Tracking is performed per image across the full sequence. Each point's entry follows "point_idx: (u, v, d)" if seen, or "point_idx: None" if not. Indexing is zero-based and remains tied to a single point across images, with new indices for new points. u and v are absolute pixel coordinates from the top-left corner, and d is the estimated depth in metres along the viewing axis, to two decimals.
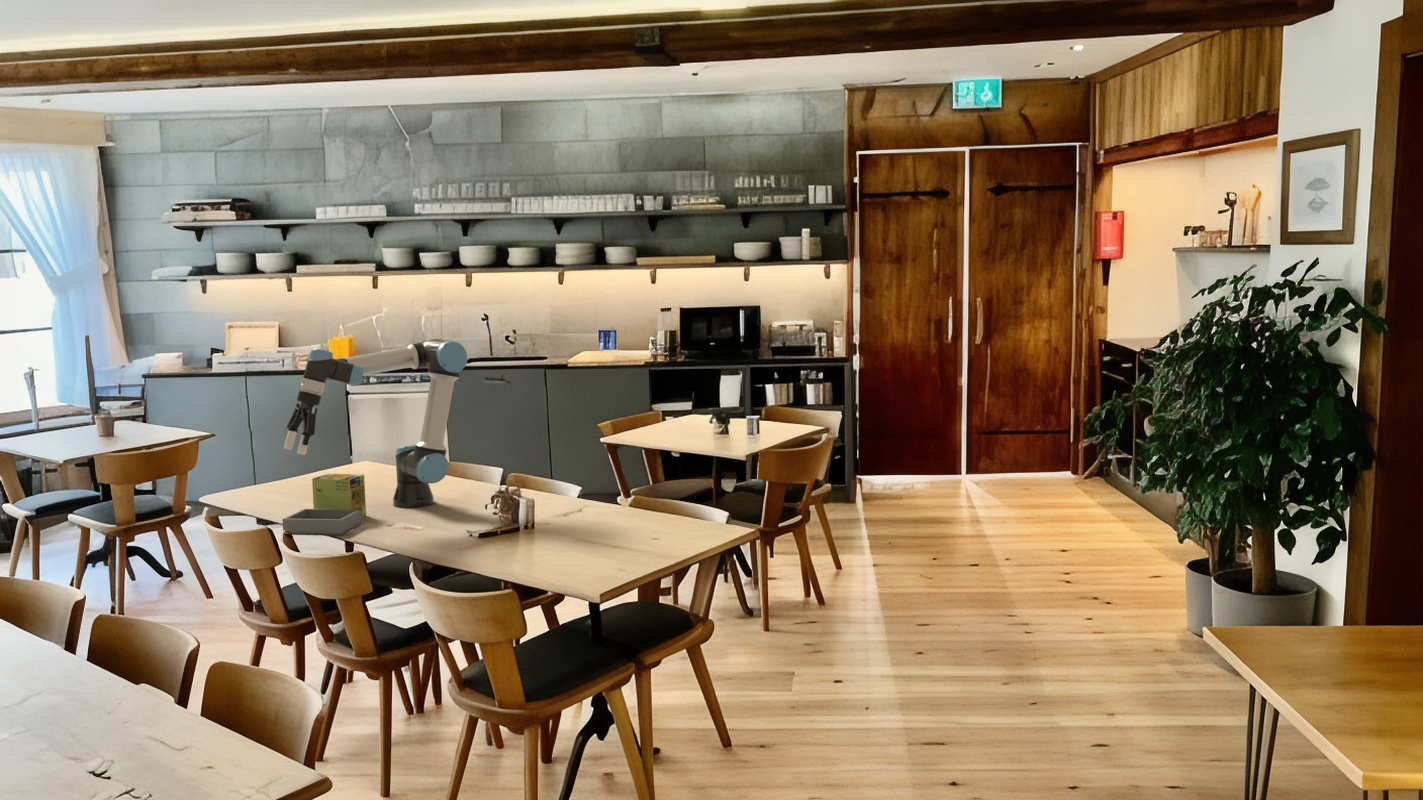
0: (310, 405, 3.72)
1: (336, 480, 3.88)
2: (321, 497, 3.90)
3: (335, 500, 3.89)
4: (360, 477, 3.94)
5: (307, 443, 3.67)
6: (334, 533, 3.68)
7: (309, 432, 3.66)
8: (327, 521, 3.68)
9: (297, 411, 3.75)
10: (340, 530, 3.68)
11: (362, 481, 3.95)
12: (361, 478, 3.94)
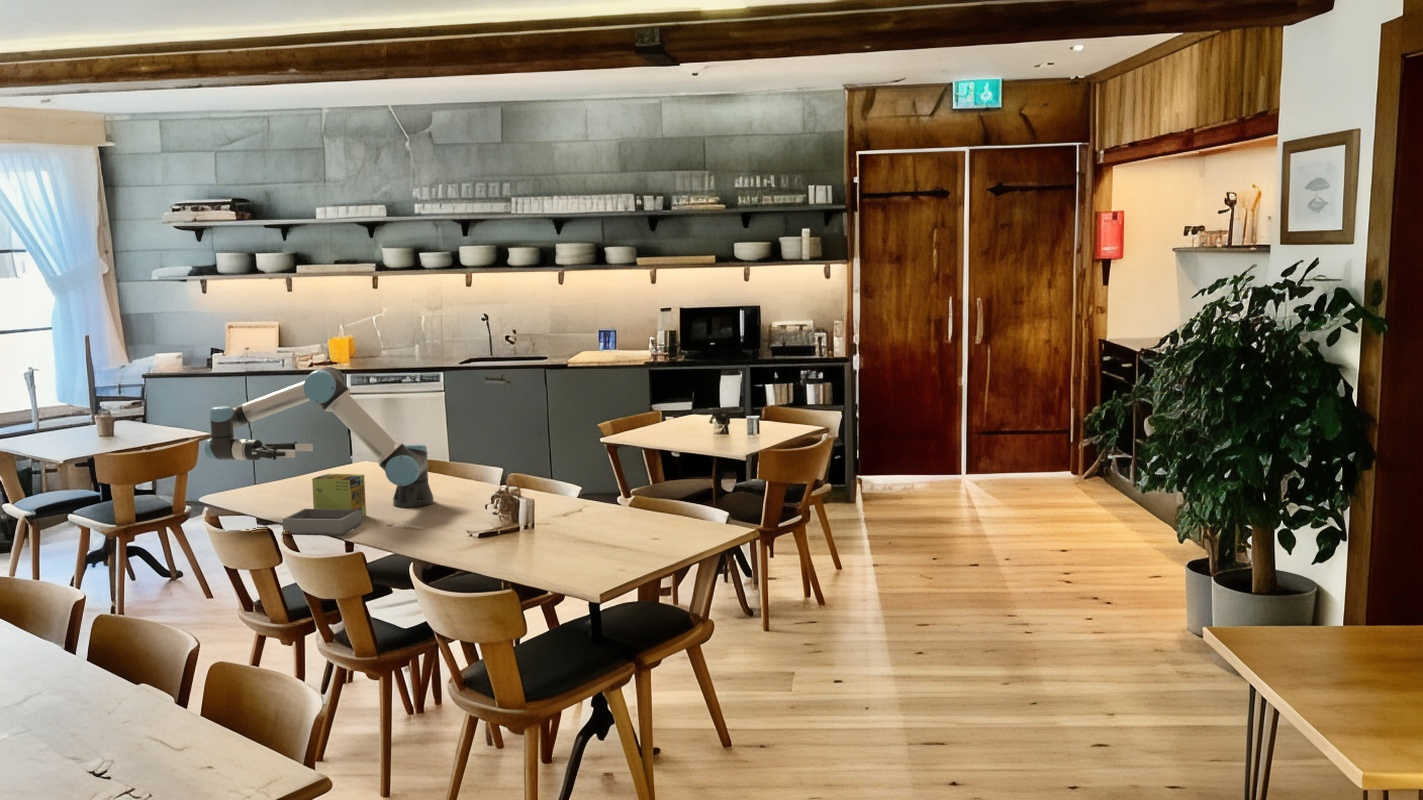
0: None
1: (336, 480, 3.88)
2: (321, 497, 3.90)
3: (335, 500, 3.89)
4: (360, 477, 3.94)
5: (281, 452, 3.85)
6: (334, 533, 3.68)
7: (269, 456, 3.84)
8: (327, 521, 3.68)
9: None
10: (340, 530, 3.68)
11: (362, 481, 3.95)
12: (361, 478, 3.94)
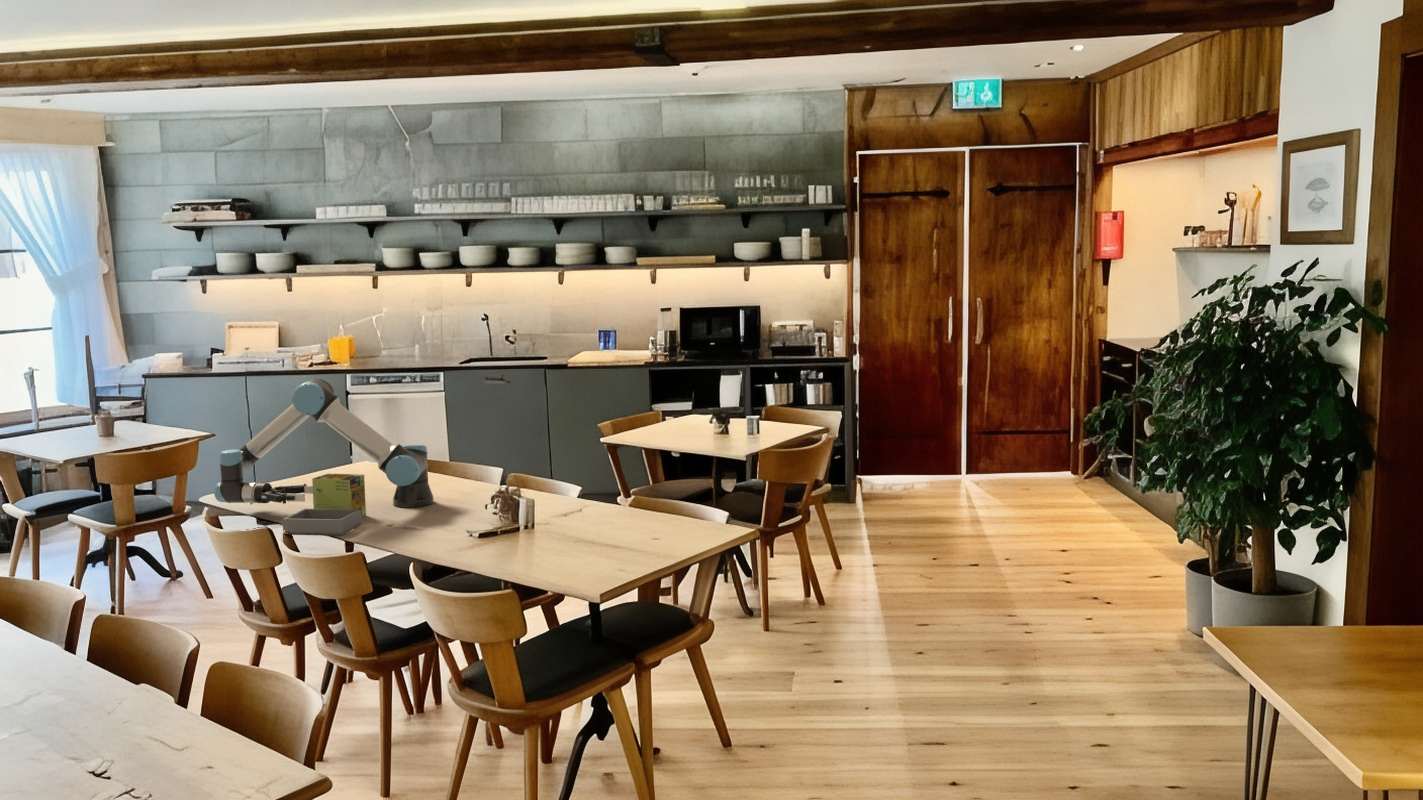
0: None
1: (336, 480, 3.88)
2: (321, 497, 3.90)
3: (335, 500, 3.89)
4: (360, 477, 3.94)
5: (291, 497, 3.87)
6: (334, 533, 3.68)
7: (278, 500, 3.86)
8: (327, 521, 3.68)
9: None
10: (340, 530, 3.68)
11: (362, 481, 3.95)
12: (361, 478, 3.94)
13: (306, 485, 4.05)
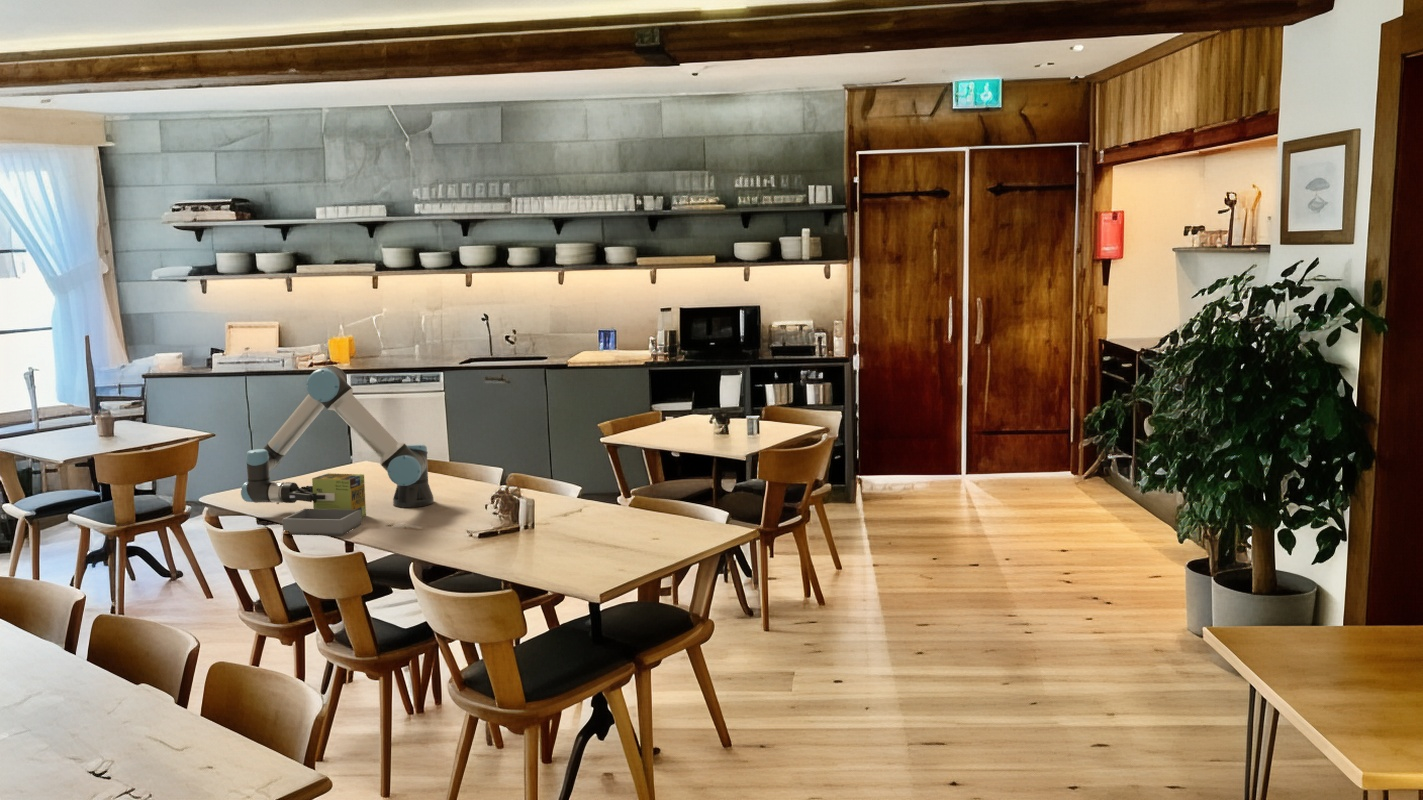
0: None
1: (336, 480, 3.87)
2: None
3: (335, 500, 3.88)
4: (360, 477, 3.93)
5: (321, 496, 3.87)
6: (334, 533, 3.68)
7: (309, 499, 3.86)
8: (327, 521, 3.68)
9: None
10: (340, 530, 3.68)
11: (362, 481, 3.95)
12: (360, 477, 3.94)
13: None
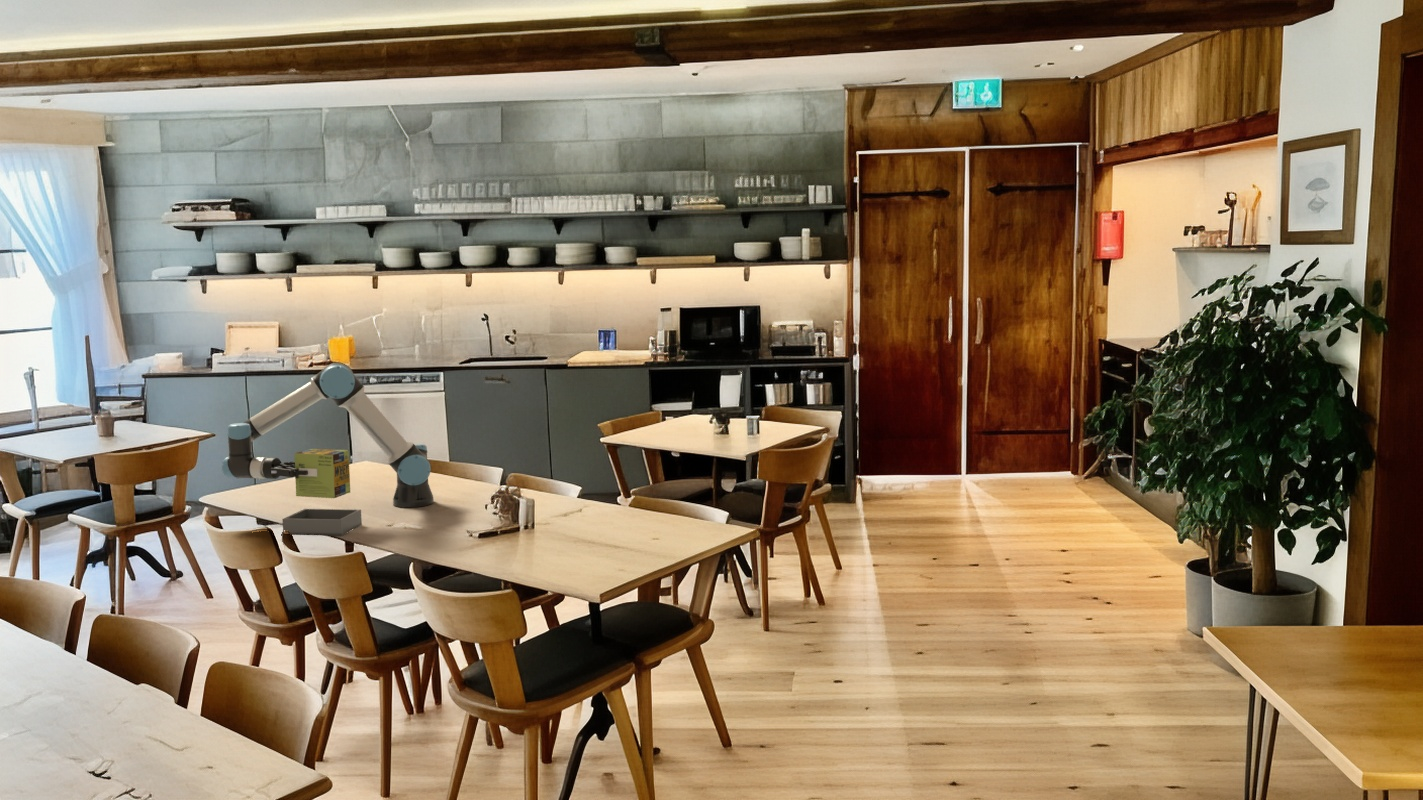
0: None
1: (319, 455, 3.74)
2: None
3: (318, 475, 3.75)
4: (344, 452, 3.80)
5: (304, 471, 3.73)
6: (334, 533, 3.68)
7: (291, 475, 3.72)
8: (327, 521, 3.68)
9: None
10: (340, 530, 3.68)
11: (346, 456, 3.81)
12: (345, 453, 3.80)
13: None
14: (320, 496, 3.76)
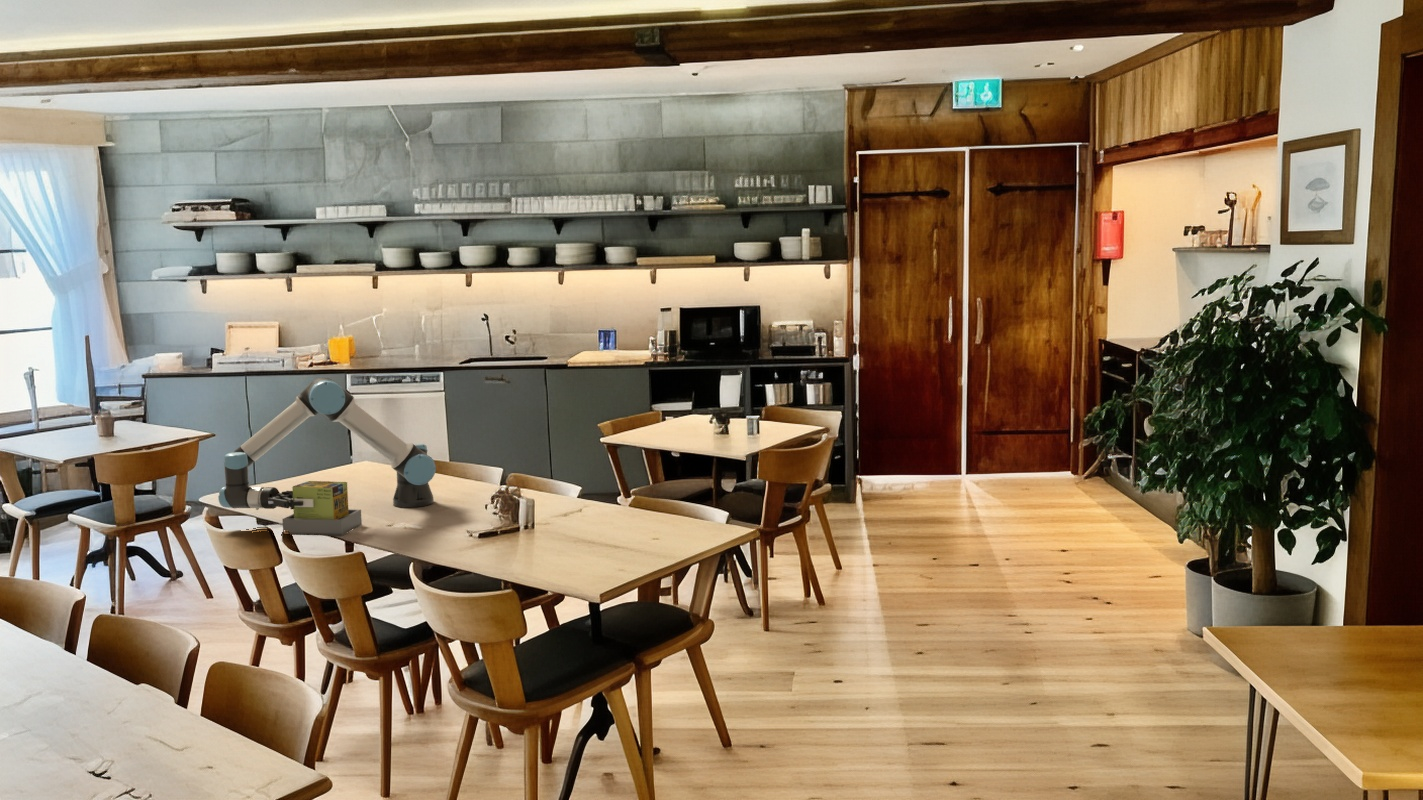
0: None
1: (318, 488, 3.69)
2: None
3: (316, 509, 3.70)
4: (343, 485, 3.76)
5: (299, 502, 3.68)
6: (334, 533, 3.68)
7: (286, 506, 3.66)
8: (327, 521, 3.68)
9: None
10: (340, 530, 3.68)
11: (345, 488, 3.77)
12: (343, 485, 3.76)
13: None
14: None
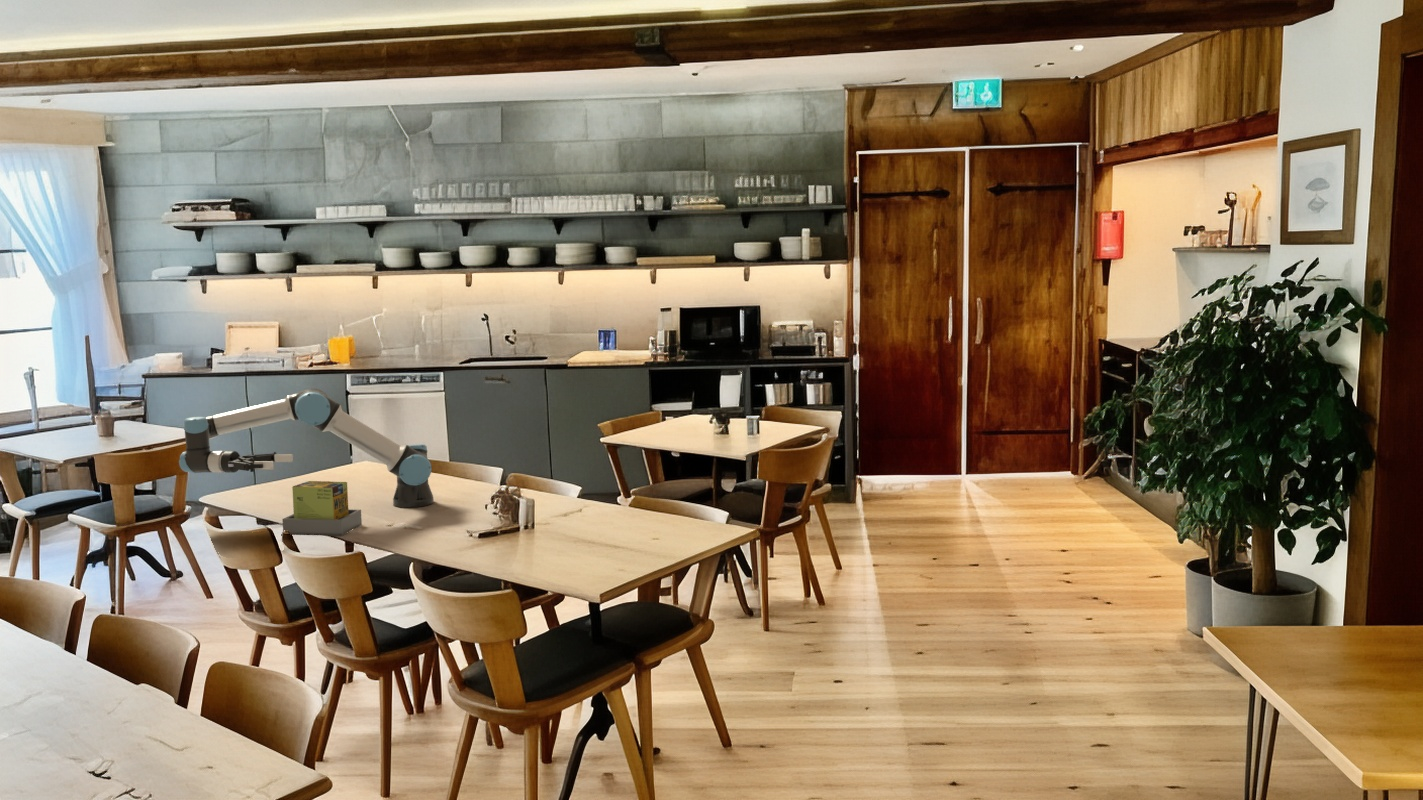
0: None
1: (318, 488, 3.69)
2: (302, 506, 3.71)
3: (316, 509, 3.70)
4: (343, 485, 3.76)
5: (259, 464, 3.67)
6: (334, 533, 3.68)
7: (246, 468, 3.66)
8: (327, 521, 3.68)
9: None
10: (340, 530, 3.68)
11: (345, 488, 3.77)
12: (343, 485, 3.76)
13: (276, 453, 3.85)
14: None
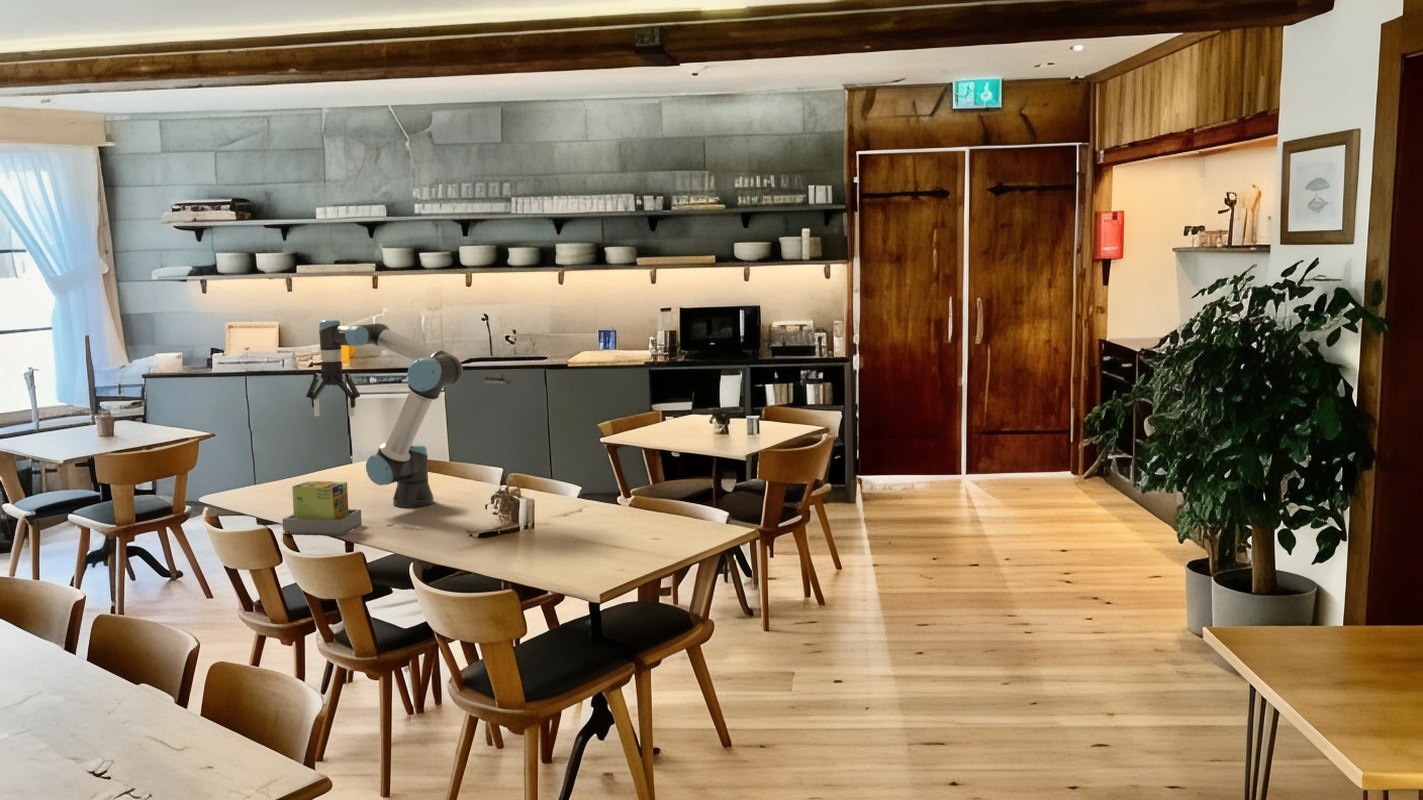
0: None
1: (318, 488, 3.69)
2: (302, 506, 3.71)
3: (316, 509, 3.70)
4: (343, 485, 3.76)
5: (312, 405, 4.11)
6: (334, 533, 3.68)
7: None
8: (327, 521, 3.68)
9: None
10: (340, 530, 3.68)
11: (345, 488, 3.77)
12: (343, 485, 3.76)
13: (356, 397, 4.08)
14: None
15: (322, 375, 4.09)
